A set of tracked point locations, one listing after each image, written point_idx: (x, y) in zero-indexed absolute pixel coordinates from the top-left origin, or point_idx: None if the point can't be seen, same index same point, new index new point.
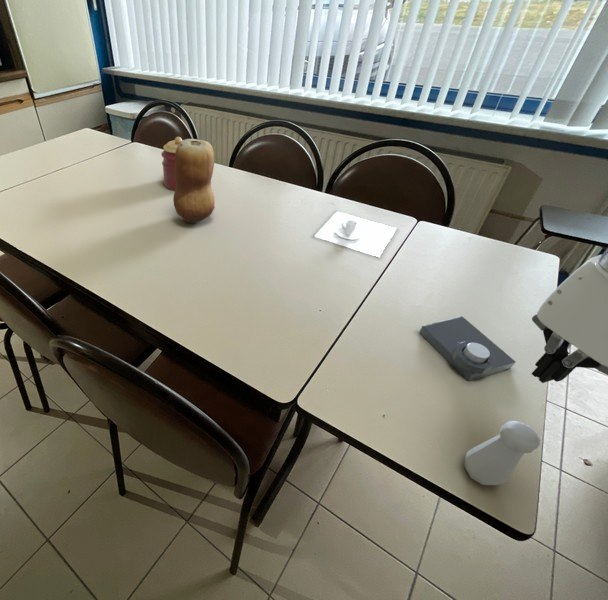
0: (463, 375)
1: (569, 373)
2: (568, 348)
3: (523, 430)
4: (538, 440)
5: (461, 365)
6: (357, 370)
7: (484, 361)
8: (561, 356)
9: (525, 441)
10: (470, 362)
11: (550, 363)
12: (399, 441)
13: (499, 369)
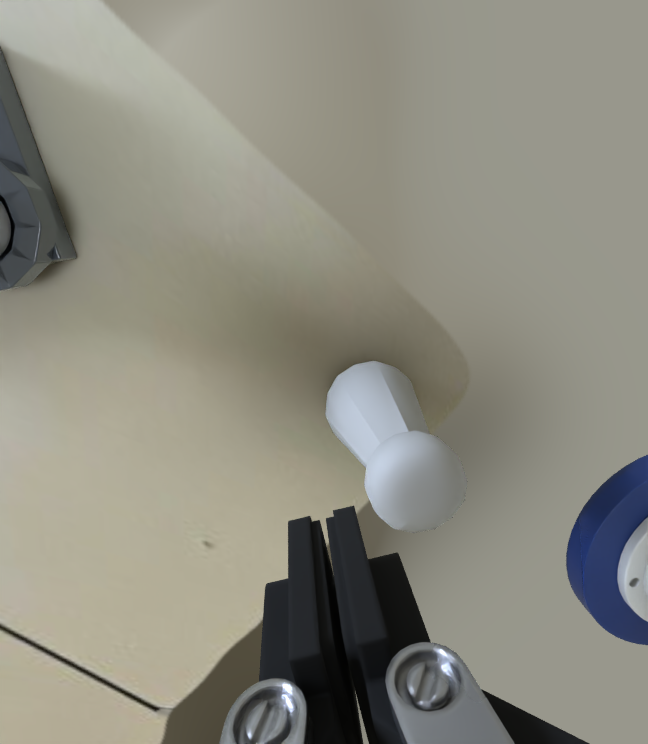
0: (54, 262)
1: (410, 587)
2: (309, 724)
3: (418, 497)
4: (453, 467)
5: (22, 286)
6: (57, 564)
7: (1, 208)
8: (344, 715)
9: (451, 510)
10: (12, 268)
11: (360, 728)
12: (277, 533)
13: (16, 113)
